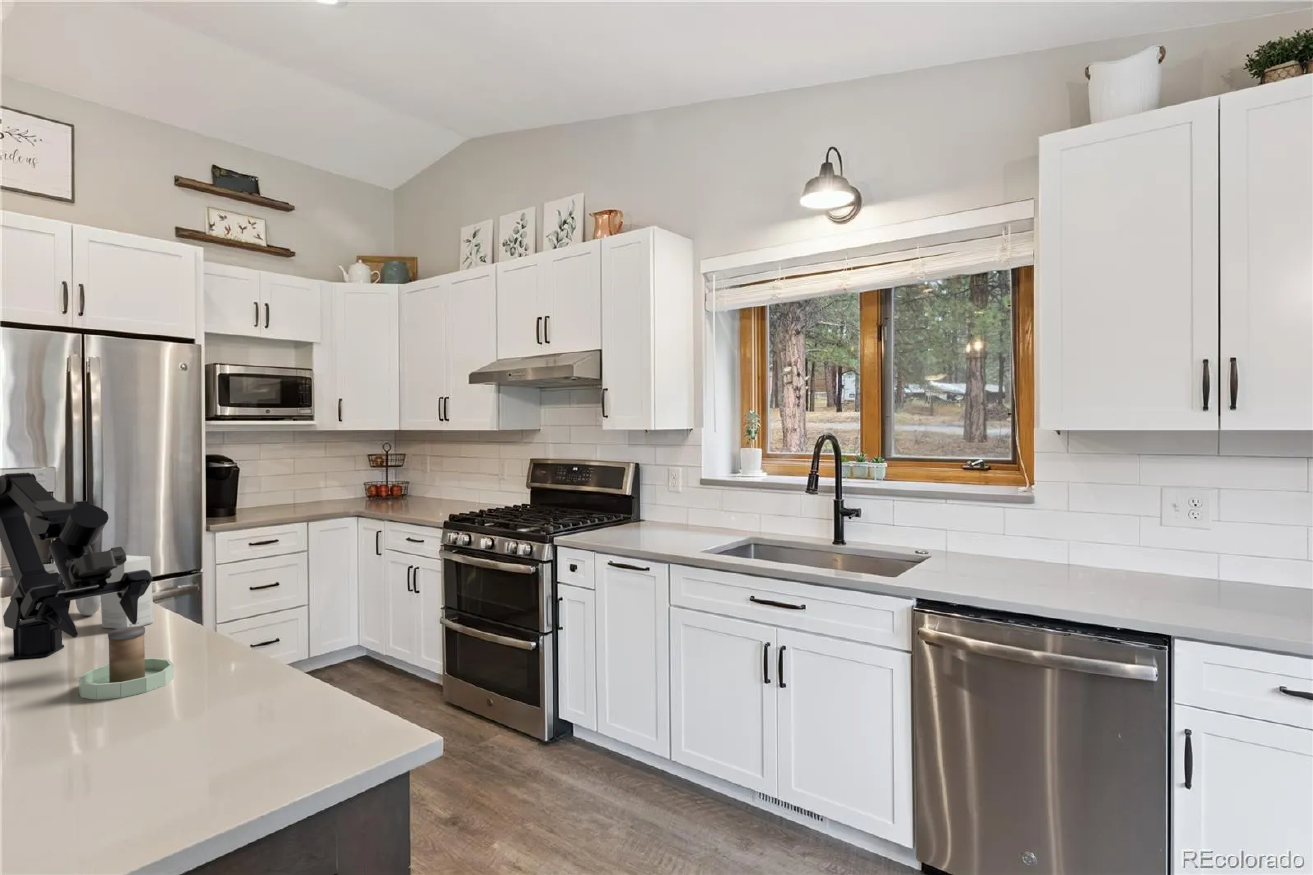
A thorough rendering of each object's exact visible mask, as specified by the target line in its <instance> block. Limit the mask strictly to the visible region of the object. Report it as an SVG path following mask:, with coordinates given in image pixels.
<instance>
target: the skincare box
mask: <svg viewBox="0 0 1313 875" xmlns="http://www.w3.org/2000/svg"><path fill="white" fill-rule="evenodd" d="M126 558H127V559H126V562H125V563H123V564H122V565H118V566H117V568H113V569H112V570H111V574H112V575H111V577H110V578H108V579H106V581H107V583H111V582H117V581H120V580H121V578H122V576H123V575H124V573H126V572H132V571H138V570H148V571H149V572H150V573H151V574H152V565H151V564H152V562H151V556H147V555H146V556H144V555H128V554H126ZM152 585H153V581H152V582H151V583H150V585H149V587H148V588H147V590H146V592H145V593H144V595H142V596H140V597H139V599H138V609H137V622H136V624H134V625H133V624H132V623H131V622H130V621H129V619H128V617H127V615H126V614H125V612H124V610H123V608H122V607H121V605H120V603H119V602H120V600H121V598H119V597H118V595H117V593H111V594H106V595H101V603H100V608H101V610H100V612H101V627H102V628H106V629H113V630H116V629H120V628H125V627H134V626H140V627H144V626H146V625H150V624H153V623H154V622H155V620H154V602H153V601H154V600H153V586H152Z"/></svg>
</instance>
